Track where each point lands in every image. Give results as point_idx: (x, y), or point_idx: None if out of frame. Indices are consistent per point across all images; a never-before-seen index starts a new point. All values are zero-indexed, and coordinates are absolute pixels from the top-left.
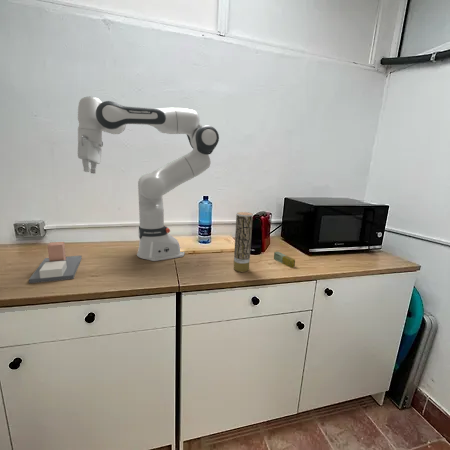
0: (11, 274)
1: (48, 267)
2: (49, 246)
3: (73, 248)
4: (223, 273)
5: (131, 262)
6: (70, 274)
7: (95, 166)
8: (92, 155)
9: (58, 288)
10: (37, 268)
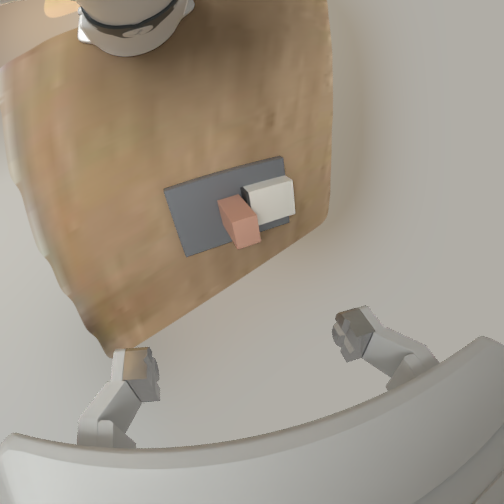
0: (247, 265)
1: (283, 206)
2: (259, 237)
3: (95, 245)
4: None
5: (194, 56)
6: (279, 164)
7: (106, 414)
8: (415, 442)
9: (311, 165)
10: None
